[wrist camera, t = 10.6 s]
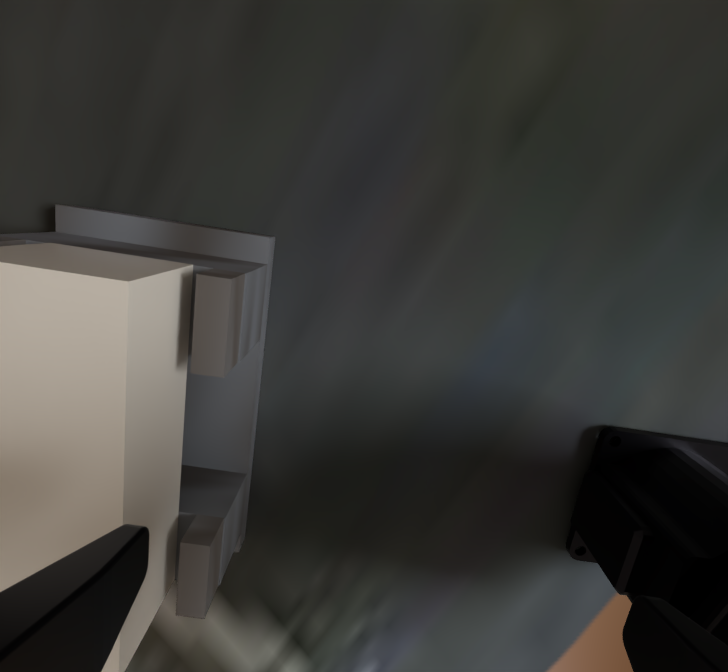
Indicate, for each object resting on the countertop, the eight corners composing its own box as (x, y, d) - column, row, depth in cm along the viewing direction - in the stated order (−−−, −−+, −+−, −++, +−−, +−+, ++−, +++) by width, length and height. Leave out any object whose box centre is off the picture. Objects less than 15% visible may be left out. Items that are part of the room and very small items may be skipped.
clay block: (193, 264, 15) (128, 281, 11) (174, 579, 17) (118, 682, 14) (49, 242, 14) (-68, 251, 11) (55, 563, 17) (-35, 662, 14)
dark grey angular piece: (275, 236, 18) (236, 244, 13) (245, 537, 22) (204, 641, 16) (72, 205, 18) (-54, 199, 13) (74, 513, 21) (-24, 611, 16)
